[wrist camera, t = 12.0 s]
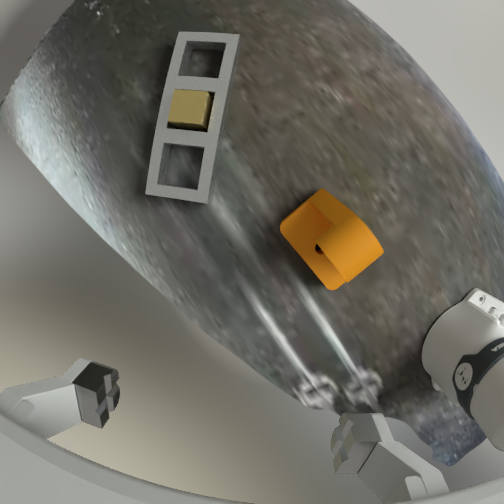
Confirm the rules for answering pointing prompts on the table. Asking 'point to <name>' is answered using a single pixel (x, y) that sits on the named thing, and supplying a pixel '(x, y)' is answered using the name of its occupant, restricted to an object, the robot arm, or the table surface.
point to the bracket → (330, 239)
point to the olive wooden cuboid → (191, 109)
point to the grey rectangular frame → (194, 139)
